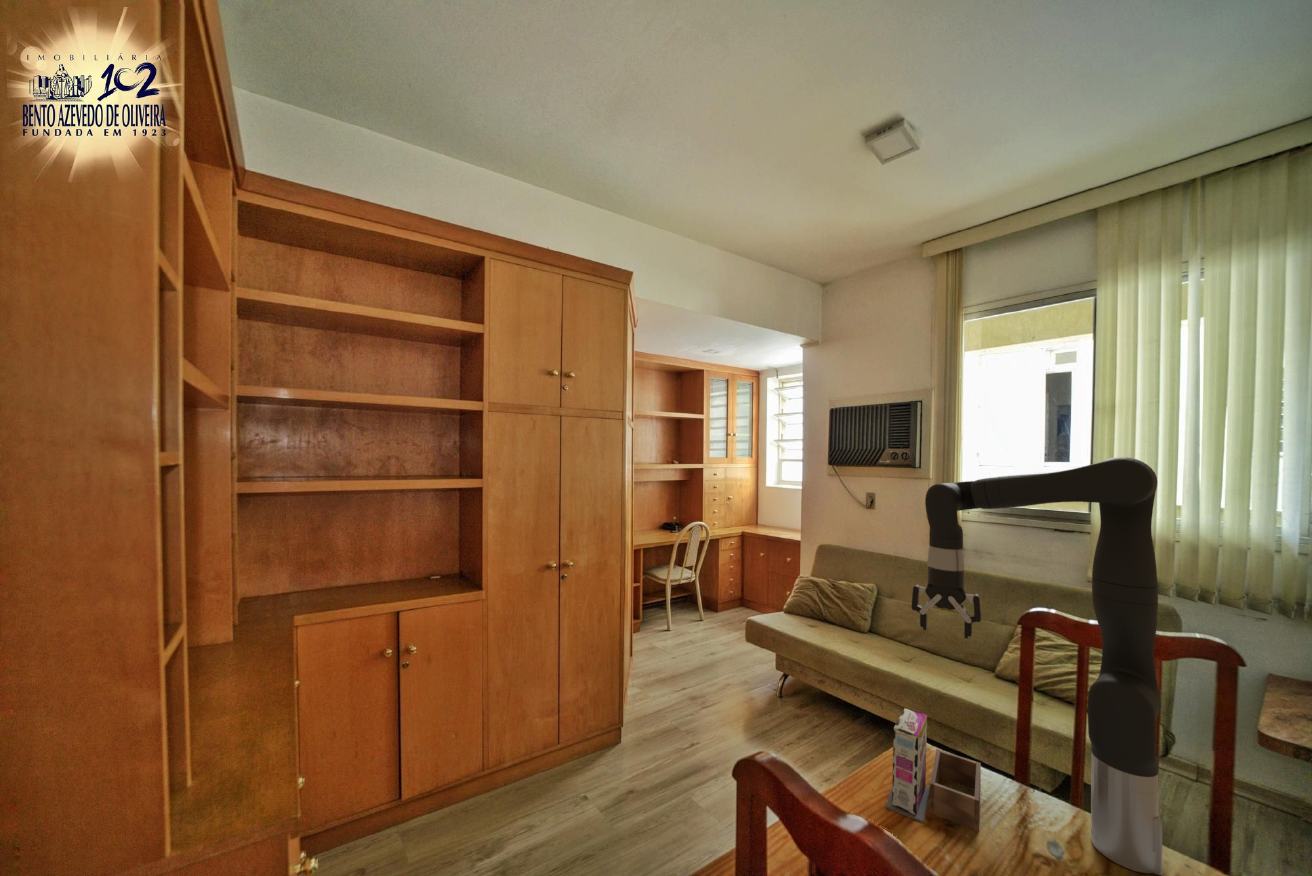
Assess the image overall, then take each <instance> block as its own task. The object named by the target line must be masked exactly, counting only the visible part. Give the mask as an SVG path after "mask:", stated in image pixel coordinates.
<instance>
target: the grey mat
mask: <svg viewBox="0 0 1312 876" xmlns="http://www.w3.org/2000/svg"><path fill="white" fill-rule="evenodd" d="M929 798H930V787H927V786H925V790H924V793H923V796H922V799H921V802H920V805H919V808H918V811H917V814H916V815H913V814H910V813H908V812H906V811H904V810H902V809H899V808H897V807H895V806H893V805H892V787H891V788H890V791H889V795H888V798H887V802H886V805H885V808H886V809H887V810H891V811H892V812H896V813H897V814H900V815H903V816H905V817H906V818H910V819H913V820H915V821H918V822H920V823H922V824H924V823H925V817H926V813H927V809H928V801H929Z"/></svg>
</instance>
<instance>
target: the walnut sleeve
mask: <svg viewBox="0 0 1312 876" xmlns="http://www.w3.org/2000/svg"><path fill="white" fill-rule="evenodd" d="M981 765H982V763H981V762H979V761H976V760H972V759H969V758H966V757H964V756H959V755H956V754H954V753H950V752H947V751H944V750H941V749H938V748H936V751H935V755H934V762H933V765H932V766H933V767H932V772H931V775H930V782H929V788H930V792H929V813H931V814H933V815H936V816H938V817H941V818H943V819H946V820H949V821H951V822H954V823H956V824H959V825H961V826H964V827H967V828H970V829H972V830H974V831H976V832H980V815H981V813H980V812H981V790H982V789H981V786H982V785H981V782H982V781H981V779H982V778H981V776H982V774H981V773H982V772H981V771H982V770H981V768H982V766H981ZM941 779H942V780H944V781H947V782H951V783H953V784H955V785H959V786H962V787H964V788H967V789H971V790H973V791H974V796H973V795H970V794H967V793H964V792H962V791H959V790H956V789H953V788H950V787H948V786H945V785H942V784H940V781H941Z"/></svg>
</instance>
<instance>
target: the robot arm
mask: <svg viewBox="0 0 1312 876" xmlns="http://www.w3.org/2000/svg"><path fill="white" fill-rule="evenodd" d="M1157 489H1158V477H1157V475H1156V472H1155V471H1154V470H1153V468H1152V467H1150V465H1148V464H1147V463H1145V462H1144V461H1143V460H1139V459H1137V458H1133V457H1127V456H1126V457H1124V456H1119V457H1117V456H1116V457H1110V458H1106V459H1103V460H1102V461H1100V462H1096V463H1092V464H1088V465H1085V466H1080V467H1076V468H1072V469H1066V470H1061V471H1054V472H1046V473H1045V472H1044V473H1033V474H1032V473H1031V474H1030V473H1029V474H1027V473H1026V474H1014V475H1003V476H1002V475H1001V476H995V477H987V478H986V477H985V478H980V479H979V478H978V479H977V480H971V481H970V480H969V481H967V480H966V481H957V482H956V481H955V482H941V483H940V482H939V483H936V484H932V485H931V486H930V487H929V488H928V489H927V491H926V494H925V500H924V501H925V502H924V505H925V511H926V518H927V521H928V526H929V531H928V532H929V540H928V543H929V545H928V546H929V547H928V552H927V585H926V587H925V586H922V585H921V586H920V585H919V584H917V583H916V584H914V585H913V587H912V597H911V610H913V611H915V612H918V613H919V625H920V627H921V628H922V630H923V631H927V630H928V613H927V612H929V611H930V610H931V609H932V608H933V607H934V606H935V607H937V609H939V608H940V609H946V610H948V611H949V610H950V611H953V610H956V611H957V612H958V614H959V615H960V617H962V619H963V620H964V632H963V633H964V635H963V636H964V637H963V638H964V639H967V640H968V639H969V637H972V634H973V633H972V632H973V630H972V629H973V623H980V622H981V621H982V620H981V619H982V615H981V614H982V613H981V597H980V594H979V593H974V594H971V593H966V591H965V555H964V532H963V531H964V530H963V527H962V525H960V524H959V520H958V519H959V518H958V512H959V511H967V510H975V509H982V510H994V509H995V510H997V509H1008V508H1019V507H1028V506H1036V505H1044V504H1053V503H1057V504H1058V503H1070V502H1071V503H1079V502H1080V503H1098V505H1099V516H1100V517H1099V518H1100V526H1099V534H1098V538H1097V543H1096V546H1095V550H1094V556H1093V562H1092V568H1091V569H1092V571H1091V596H1092V597H1091V598H1092V606H1093V610H1094V613H1095V617H1096V621H1097V625H1098V628H1099V630H1100V635H1101V642H1102V645H1101V646H1102V648H1101V649H1102V651H1101V661H1100V663H1101V664H1100V669H1099V675H1098V677H1097V679H1096V680H1095V681H1094V682H1093V683H1092V684H1091V685H1090V687H1089V689H1088V693H1087V726H1088V727H1087V730H1088V737H1089V738H1088V739H1089V742H1090V746H1091V747H1090V755H1091V756H1090V762H1091V763H1090V769H1091V770H1090V776H1091V777H1090V779H1091V780H1090V789H1091V790H1090V796H1091V797H1090V798H1091V799H1090V814H1091V815H1090V818H1091V819H1090V836H1091V837H1090V840H1091V842H1092V845H1093V846H1094V847H1095V848H1096V850H1097V851H1098V852H1100V853H1101V854H1102V855H1103V856H1105V857H1106V858H1107V859H1109V860H1110V861H1112V862H1114V863H1115V864H1117V865H1119V866H1122V868H1124V869H1125V868H1126V869H1129V870H1130V871H1134V872H1137V873H1142V874H1155V875H1158V876H1160V875H1162V876H1163V822H1162V820H1161V818H1160V815H1159V759H1158V756H1157V752H1156V720H1157V718H1158V716H1159V714H1160V712H1161V698H1160V693H1159V687H1158V681H1157V674H1156V673H1157V672H1156V665H1155V658H1154V657H1155V656H1154V654H1155V652H1154V649H1155V642H1156V635H1157V634H1156V633H1157V625H1158V612H1159V611H1158V610H1159V583H1158V582H1159V581H1158V570H1157V569H1158V568H1157V562H1156V553H1155V547H1154V541H1153V534H1152V521H1153V514H1154V513H1153V512H1154V505H1155V497H1156V492H1157ZM923 593H925V594H926V595H927V597H928V598H929V600H927V601H926V602H925V604H923V605H919V601H920V600H919V599H920V596H922V595H923ZM966 600H968V601H969V603H970V604H971V605H973V614H972V615H970V613H969V612H968V611H967V609H966V607H965V606H964V605H963V603H964V602H965V601H966Z"/></svg>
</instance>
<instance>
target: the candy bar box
mask: <svg viewBox="0 0 1312 876" xmlns="http://www.w3.org/2000/svg"><path fill="white" fill-rule="evenodd" d="M927 733H928V714H924V713H921V712H918V711H914V710H911V709H909V708H906V707H904V709H903V711H902V712H901V714H900V716H899V717H898V720H897V721H896V723H895V725H894V726H893V744H892V745H893V747H892V749H893V750H892V751H893V752H892V781H891V782H892V783H891V784H892V786H891V788H892V805H893V806H895V807H897V808H899V809H902V810H904V811H906V812H908V813H910V814H913V815H916V814H917V811H918V808H919V805H920V802H921V799H922V796H923V793H924V790H925V786H926V783H927V782H926V779H927V778H926V774H927V773H926V772H927V769H926V768H927V737H928V736H927V735H928V734H927ZM926 787H927V786H926Z"/></svg>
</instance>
